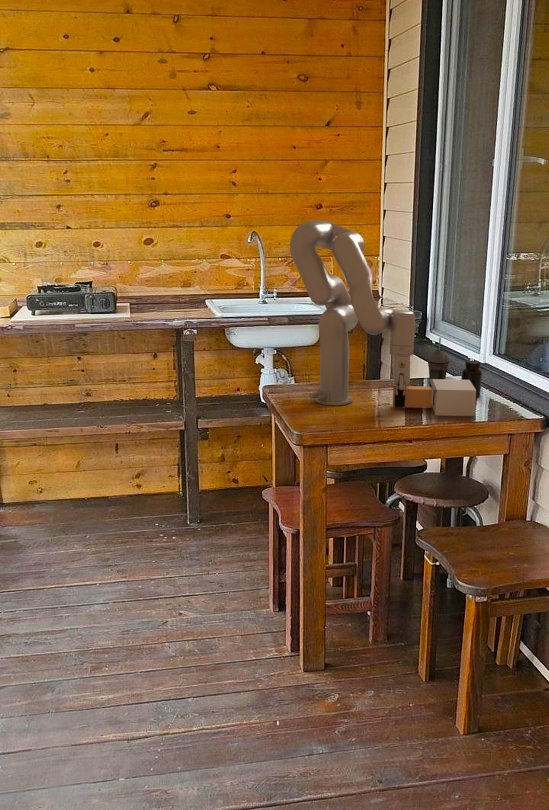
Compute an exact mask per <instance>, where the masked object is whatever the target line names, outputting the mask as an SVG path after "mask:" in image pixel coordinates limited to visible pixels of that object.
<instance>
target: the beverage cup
mask: <svg viewBox="0 0 549 810" xmlns="http://www.w3.org/2000/svg"><path fill="white" fill-rule="evenodd" d="M441 342H442V337H439V338H438V349H435V350H433V351H431V353H430V354H429V355H428V360H427V365H428V375H429V376H428V380H429V381H428V382H429V385H428V387H431V388H432V386H431V383H430V379H447V371H448V367H449V363H450V361H449V356H448V353H447V352H446V351H444V350H443V349H441Z"/></svg>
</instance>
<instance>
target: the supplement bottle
mask: <svg viewBox="0 0 549 810" xmlns="http://www.w3.org/2000/svg"><path fill="white" fill-rule="evenodd" d="M464 367H465V368H463V369H462V371H461V378H460V380H470V381H471V383H472V385H473V386H474V388H475V389H476V399H478V398H479V397H481V392H482V380H483V371H482V370H481V369H480V368H481V361H478V360H466V361H465V366H464Z"/></svg>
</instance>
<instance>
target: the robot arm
mask: <svg viewBox="0 0 549 810" xmlns="http://www.w3.org/2000/svg"><path fill="white" fill-rule="evenodd" d="M320 247H322V248H325V249H327V250H329V251H331V253H332V255H333V256H334V259H335V261H336V263H337V266H338V267H339V269H340V272H341V273H342V275H343V279H344V280H345V282H346V284H345V283H344V281H343V279H341V277H339V276H338V275H335V274H331V273H328V270H327V268H326V267H325V264H324V262H323V259H322V258H321V256H320V255H319V253H318V252H317V248H320ZM364 251H365V241H364V238H363V237H362V236H361V235H360V233H357V231H356V232H355V231H353V230H351V229H348V228H346V227H343V226H340V225H339V224H336V223H333V222H332V221H331V222H330V221H328V220H323V219H319V220H318V219H317V220H307V221H304V222H302V223H301V224H299V225H297V227H296V228H295V230H294V231H293V232H292V234H291V237H290V241H289V253H290V256H291V259H292V261H293V263H294V265H295V267H296V268H297V271H298V274H299V276H300V279H301V281H302V284H303V285H304V288H305V290H306V293H307V295H308V297H309V299H310V301H311V303H313V304H314V305H316V306H320V307H323V306H324V307H325V309H326V310H324V311H323V312H322V314H321V315H320V318H319V321H318V334H319V346H320V347H319V349H320V353H319V357H320V358H319V360H320V361H319V362H320V365H319V368H320V369H319V371H320V372H319V387H318V388H317V390H316V392H312V393H309V395H308V398H309V399H310V400H313V399H314V400H315V403H318V404H321V405H325V406H345V405H349V404H351V403H353V399H354V398H353V396H351V395H349V377H350V376H349V372H350V371H349V370H350V342H349V341H350V340H349V334H348V332H350V331H352V330H353V329H354V328H355V327H356V326H357V323H358V322H359V324H360V326H361V328H362V330H363V331H365V333H367V334H369V335H372V336H377V335H380V334H381V333H385V332H387V331H390V333H389V353H388V354H389V355H391V356H392V379H393V380H392V381H393V384H394V385H393V386H396V395H395V407H394V408H406V407H405V386H411V356H413V355H414V349H415V348H414V345H415V332H416V331H415V328H416V314H415V312H413V311H412V310H409V309H408V310H407V309H399V310H398V309H392V308H387V307H378V304H377V303H376V301H375V298H374V295H373V288H372V287H373V280H374V279H373V276H374V275H373V272H372V270H371V268H370V266H369V264H368V262H367V260H366V258H365V255H364ZM346 285H347V286H346ZM347 287H348V288H347ZM398 387H399V388H398Z"/></svg>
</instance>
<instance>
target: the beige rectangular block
mask: <svg viewBox="0 0 549 810" xmlns="http://www.w3.org/2000/svg"><path fill="white" fill-rule="evenodd" d="M430 383H431V386H432V400H431V408H432V410H433V413H434V415H435V416H446V417H447V416H450V417H453V416H454V417H455V416H456V417H475V412H476V411H475V410H476V399H477V398H476V389H475V388H474V386H473V385H472V383H471V381H470V380H461V379H452V378H451V379H447V378H446V379H430Z"/></svg>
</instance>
